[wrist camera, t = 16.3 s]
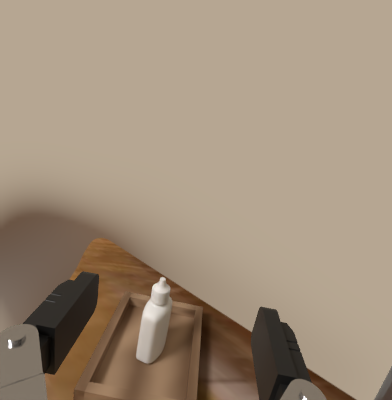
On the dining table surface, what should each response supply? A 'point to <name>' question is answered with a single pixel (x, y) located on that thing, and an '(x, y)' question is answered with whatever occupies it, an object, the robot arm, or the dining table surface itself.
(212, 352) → the dining table surface
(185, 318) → the walnut tray
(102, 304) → the dining table surface
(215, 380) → the dining table surface
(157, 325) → the eye dropper bottle
